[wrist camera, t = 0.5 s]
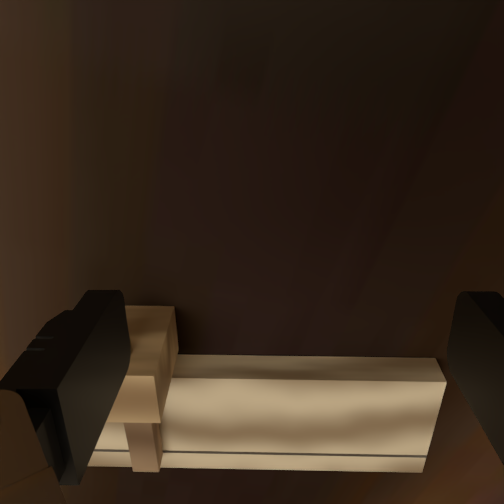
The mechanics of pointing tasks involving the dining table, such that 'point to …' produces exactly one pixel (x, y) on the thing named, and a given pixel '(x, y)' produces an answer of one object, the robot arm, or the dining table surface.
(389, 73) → the dining table surface
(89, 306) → the robot arm
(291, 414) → the board
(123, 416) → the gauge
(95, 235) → the dining table surface
